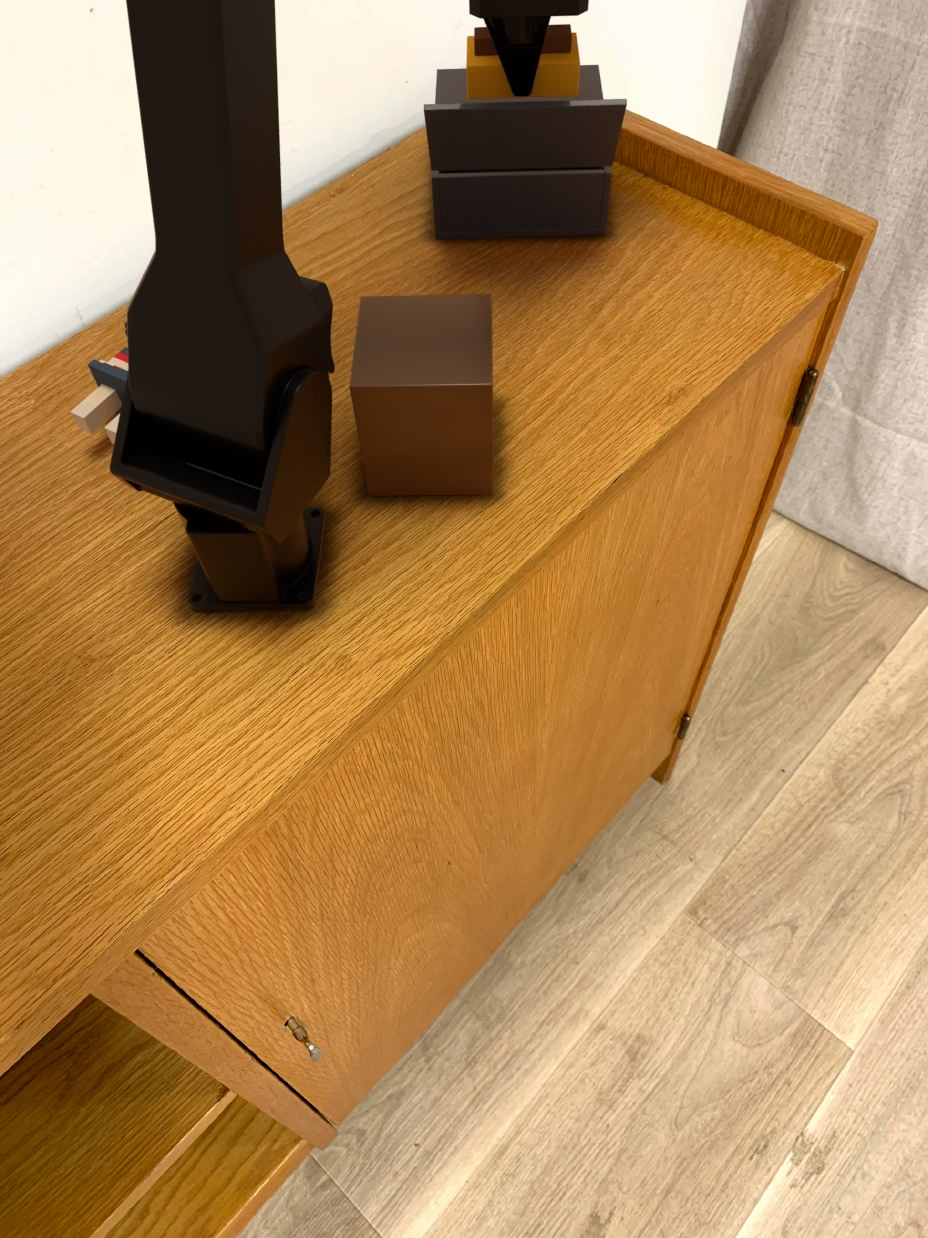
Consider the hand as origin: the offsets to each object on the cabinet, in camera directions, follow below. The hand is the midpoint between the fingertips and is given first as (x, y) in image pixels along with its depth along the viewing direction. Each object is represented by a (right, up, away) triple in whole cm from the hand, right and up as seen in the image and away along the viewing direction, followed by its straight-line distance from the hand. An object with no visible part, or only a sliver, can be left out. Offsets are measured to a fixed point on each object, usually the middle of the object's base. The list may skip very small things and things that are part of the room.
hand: (521, 77), depth 57 cm
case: (0, -2, +9) cm, 10 cm away
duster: (0, 0, 0) cm, 0 cm away
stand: (-5, -25, -5) cm, 26 cm away
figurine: (-20, -20, -2) cm, 29 cm away
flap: (0, -5, -2) cm, 5 cm away
